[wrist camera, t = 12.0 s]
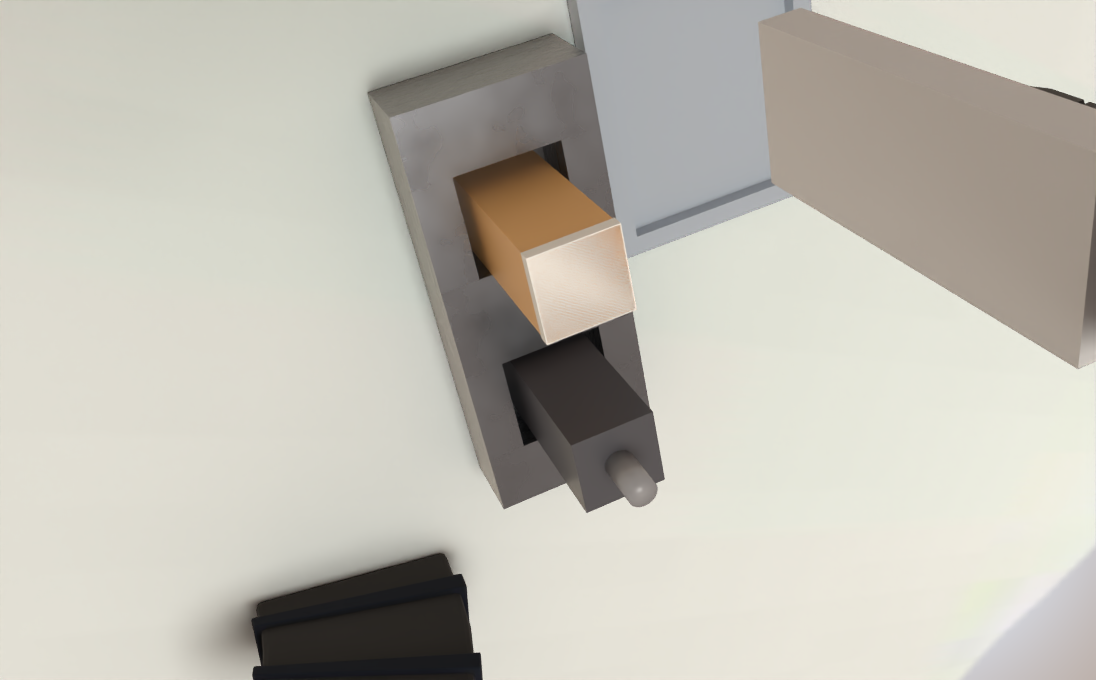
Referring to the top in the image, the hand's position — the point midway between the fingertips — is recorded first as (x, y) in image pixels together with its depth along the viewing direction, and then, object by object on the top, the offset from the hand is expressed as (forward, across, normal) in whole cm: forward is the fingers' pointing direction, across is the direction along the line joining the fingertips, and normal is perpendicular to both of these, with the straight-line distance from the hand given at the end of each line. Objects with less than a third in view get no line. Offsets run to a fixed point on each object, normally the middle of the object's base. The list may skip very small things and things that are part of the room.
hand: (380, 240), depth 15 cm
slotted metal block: (+32, +10, -19) cm, 38 cm away
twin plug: (+31, +10, -24) cm, 40 cm away
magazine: (+32, -5, -35) cm, 48 cm away
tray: (+32, +21, -13) cm, 40 cm away
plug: (+31, +10, -15) cm, 35 cm away
